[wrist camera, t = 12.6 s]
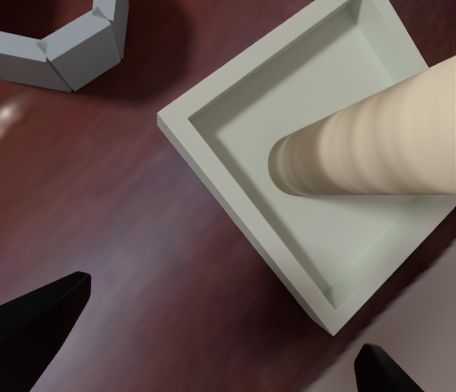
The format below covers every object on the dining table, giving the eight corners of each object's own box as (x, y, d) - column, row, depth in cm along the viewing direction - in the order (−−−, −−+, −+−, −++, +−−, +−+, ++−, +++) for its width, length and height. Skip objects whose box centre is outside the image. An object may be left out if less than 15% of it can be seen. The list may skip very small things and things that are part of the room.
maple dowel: (272, 199, 20) (478, 205, 7) (263, 137, 19) (459, 27, 7) (326, 191, 21) (592, 182, 8) (319, 131, 21) (577, 28, 8)
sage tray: (310, 318, 21) (333, 336, 18) (157, 125, 18) (157, 112, 16) (452, 173, 25) (489, 170, 22) (340, -8, 22) (366, -37, 19)
